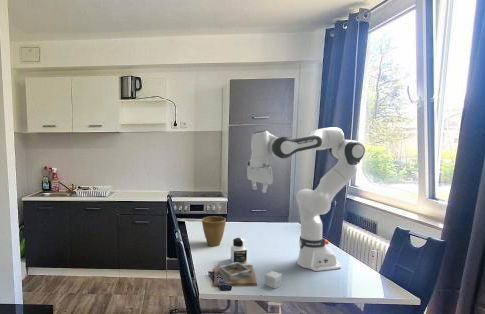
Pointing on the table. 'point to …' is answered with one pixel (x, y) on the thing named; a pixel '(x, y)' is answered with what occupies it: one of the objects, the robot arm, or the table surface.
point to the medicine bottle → (238, 251)
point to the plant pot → (213, 229)
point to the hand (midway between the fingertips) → (259, 191)
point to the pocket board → (237, 282)
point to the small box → (273, 279)
